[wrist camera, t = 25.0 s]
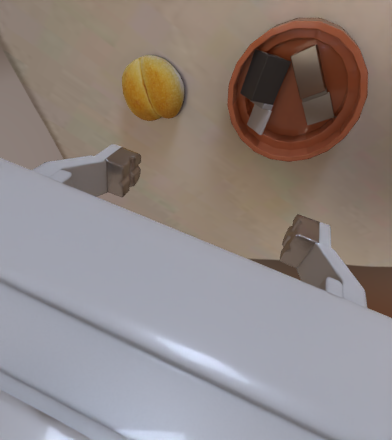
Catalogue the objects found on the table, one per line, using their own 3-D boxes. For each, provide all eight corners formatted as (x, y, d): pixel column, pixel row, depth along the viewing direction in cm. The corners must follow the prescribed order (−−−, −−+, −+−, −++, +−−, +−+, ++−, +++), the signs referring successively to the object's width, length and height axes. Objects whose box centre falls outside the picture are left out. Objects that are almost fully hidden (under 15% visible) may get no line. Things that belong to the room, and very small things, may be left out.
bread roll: (192, 112, 40) (181, 122, 37) (140, 119, 44) (127, 128, 41) (177, 47, 35) (164, 52, 32) (121, 60, 39) (105, 66, 36)
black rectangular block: (276, 55, 31) (253, 48, 29) (293, 62, 29) (269, 55, 27) (248, 125, 35) (228, 122, 34) (261, 135, 33) (240, 132, 32)
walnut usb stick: (291, 55, 31) (287, 57, 29) (319, 43, 30) (318, 43, 27) (307, 124, 34) (305, 131, 32) (334, 116, 33) (334, 122, 30)
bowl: (364, -6, 27) (369, -6, 23) (361, 135, 34) (365, 152, 31) (226, 42, 33) (214, 48, 30) (249, 152, 41) (241, 167, 37)
